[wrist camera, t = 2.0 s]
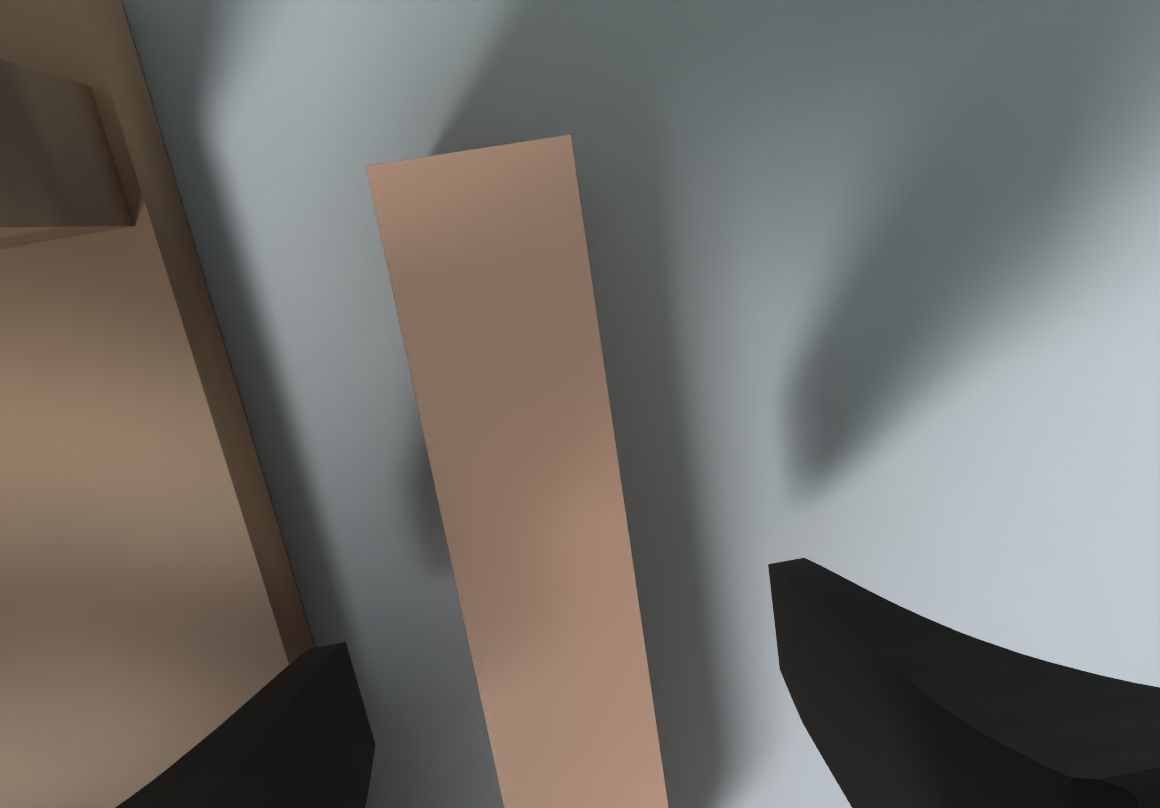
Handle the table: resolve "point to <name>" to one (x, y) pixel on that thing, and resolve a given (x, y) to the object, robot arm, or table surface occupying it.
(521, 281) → the clay strip
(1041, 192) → the table surface
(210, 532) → the strip rack
